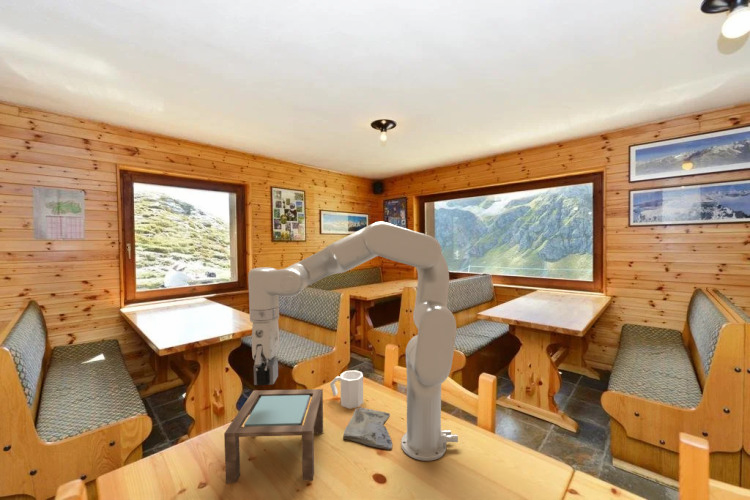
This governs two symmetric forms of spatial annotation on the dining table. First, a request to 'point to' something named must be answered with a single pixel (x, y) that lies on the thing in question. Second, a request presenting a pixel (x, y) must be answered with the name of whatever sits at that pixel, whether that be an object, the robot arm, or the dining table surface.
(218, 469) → the dining table surface
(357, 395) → the mug
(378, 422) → the fossil rock
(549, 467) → the dining table surface
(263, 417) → the trapdoor
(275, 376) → the gray cube
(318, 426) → the trapdoor frame
